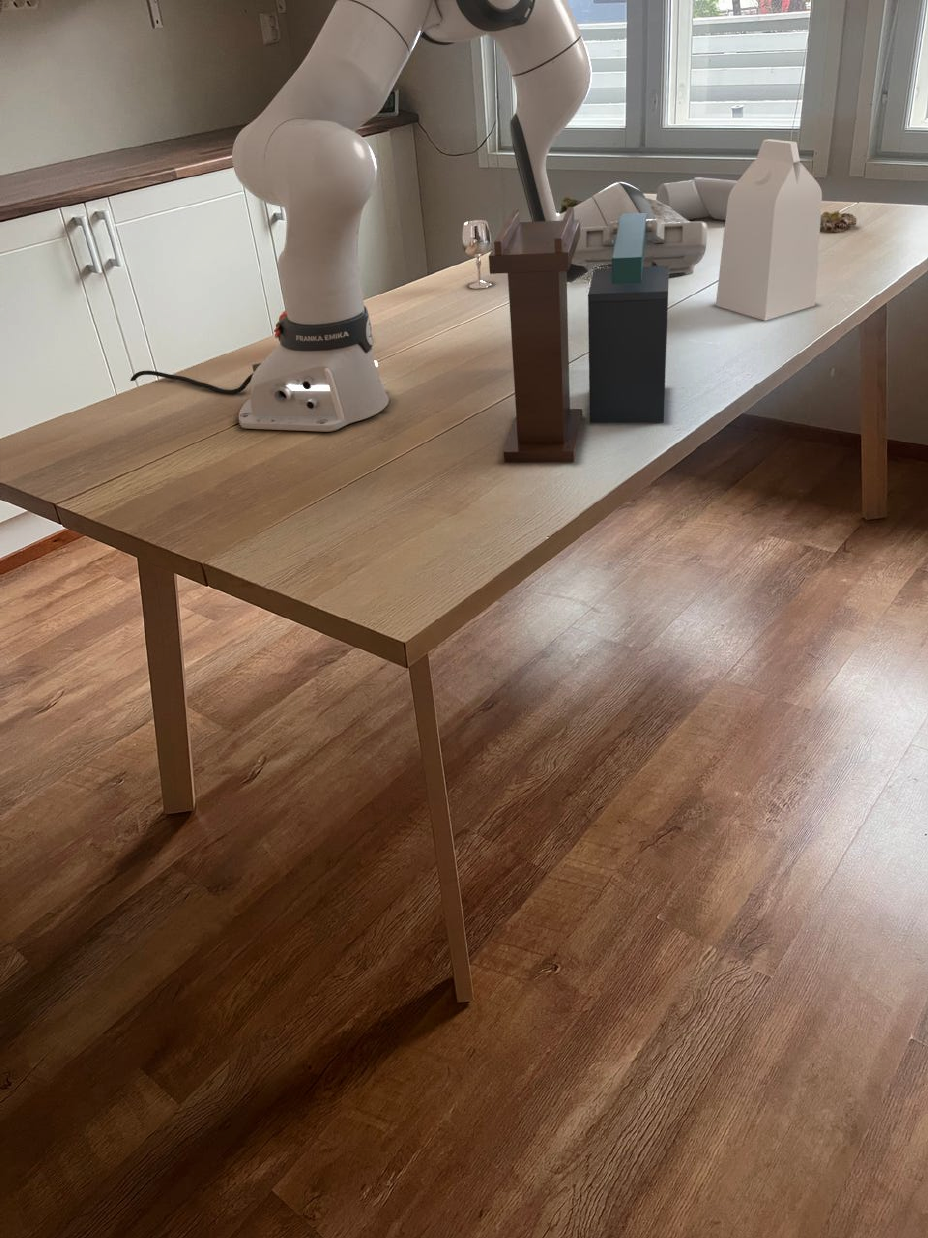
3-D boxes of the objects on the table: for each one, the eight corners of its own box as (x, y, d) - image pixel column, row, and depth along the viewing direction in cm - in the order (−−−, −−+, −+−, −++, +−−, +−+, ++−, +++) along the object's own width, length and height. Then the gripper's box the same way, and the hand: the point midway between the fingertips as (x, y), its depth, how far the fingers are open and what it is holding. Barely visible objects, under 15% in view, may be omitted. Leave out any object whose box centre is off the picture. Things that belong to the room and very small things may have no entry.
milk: (815, 305, 164) (835, 138, 149) (765, 320, 160) (780, 150, 145) (764, 291, 173) (778, 132, 158) (715, 305, 169) (725, 143, 154)
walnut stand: (519, 416, 135) (508, 210, 120) (583, 415, 133) (579, 206, 118) (503, 465, 122) (487, 241, 107) (573, 465, 120) (567, 237, 105)
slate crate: (595, 390, 141) (594, 268, 131) (664, 389, 139) (668, 265, 129) (589, 423, 131) (587, 293, 121) (663, 422, 129) (668, 291, 119)
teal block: (620, 236, 134) (620, 213, 132) (646, 235, 133) (646, 212, 131) (611, 283, 115) (611, 258, 113) (641, 282, 114) (641, 256, 113)
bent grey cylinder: (732, 200, 230) (652, 211, 228) (739, 155, 222) (657, 166, 220) (762, 232, 218) (678, 244, 216) (770, 185, 210) (684, 197, 208)
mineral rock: (861, 211, 206) (856, 209, 199) (858, 233, 207) (853, 231, 200) (809, 212, 210) (802, 210, 204) (807, 234, 212) (800, 232, 205)
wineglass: (463, 289, 191) (457, 226, 184) (469, 281, 195) (464, 219, 189) (490, 289, 190) (486, 225, 183) (496, 281, 194) (492, 218, 187)
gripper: (566, 237, 145) (557, 206, 132) (704, 230, 141) (709, 197, 128) (566, 279, 146) (556, 253, 132) (703, 274, 142) (708, 246, 128)
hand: (633, 226), depth 130 cm, fingers closed on teal block, 3 cm apart
